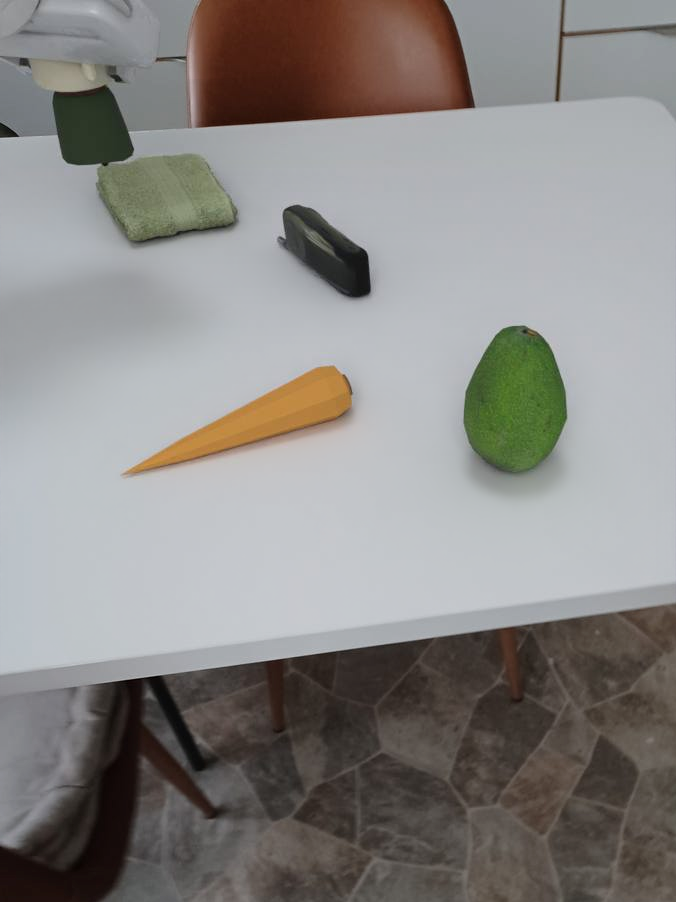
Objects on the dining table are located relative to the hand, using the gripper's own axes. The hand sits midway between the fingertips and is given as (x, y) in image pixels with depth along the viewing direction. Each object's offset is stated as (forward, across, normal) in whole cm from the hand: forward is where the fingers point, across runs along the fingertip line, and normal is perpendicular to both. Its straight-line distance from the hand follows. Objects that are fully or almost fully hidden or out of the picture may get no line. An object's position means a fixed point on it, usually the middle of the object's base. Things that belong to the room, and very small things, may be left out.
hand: (80, 70), depth 83 cm
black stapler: (+18, -18, +9) cm, 27 cm away
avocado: (-1, -43, +28) cm, 51 cm away
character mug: (+5, 0, +6) cm, 7 cm away
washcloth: (+25, +4, +2) cm, 25 cm away
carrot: (-3, -20, +30) cm, 36 cm away
